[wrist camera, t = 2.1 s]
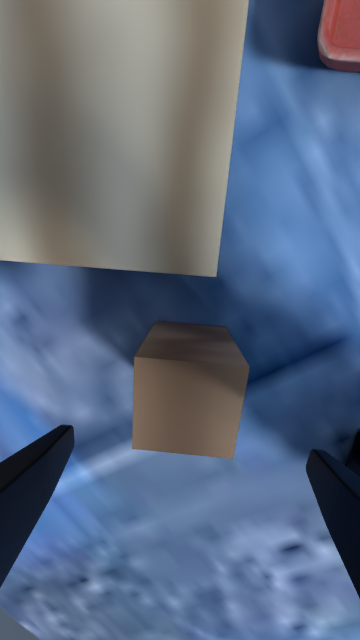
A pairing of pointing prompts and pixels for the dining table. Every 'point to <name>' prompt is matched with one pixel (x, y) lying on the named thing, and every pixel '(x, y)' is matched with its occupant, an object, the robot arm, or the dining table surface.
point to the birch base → (117, 131)
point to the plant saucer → (340, 35)
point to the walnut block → (188, 390)
